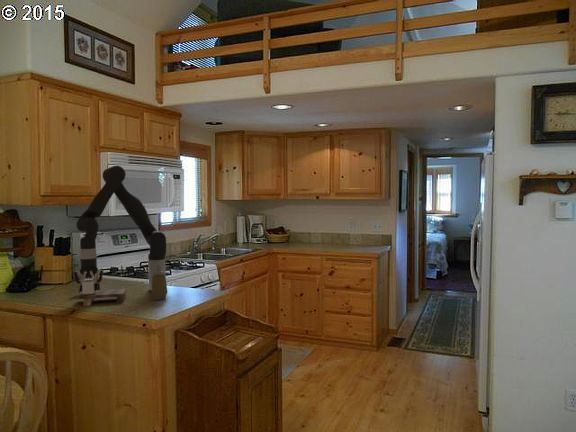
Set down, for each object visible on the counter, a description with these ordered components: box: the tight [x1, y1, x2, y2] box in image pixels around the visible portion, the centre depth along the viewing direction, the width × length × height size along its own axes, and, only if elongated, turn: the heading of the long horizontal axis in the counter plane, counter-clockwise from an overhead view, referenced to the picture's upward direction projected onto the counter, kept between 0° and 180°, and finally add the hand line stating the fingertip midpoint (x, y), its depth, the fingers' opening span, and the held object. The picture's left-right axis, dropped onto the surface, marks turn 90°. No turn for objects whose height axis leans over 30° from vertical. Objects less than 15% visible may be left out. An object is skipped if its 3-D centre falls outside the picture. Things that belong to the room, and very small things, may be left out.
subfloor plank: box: [75, 288, 127, 307], centre depth 221 cm, size 22×16×5 cm
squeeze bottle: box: [150, 264, 168, 301], centre depth 224 cm, size 8×8×18 cm
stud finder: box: [82, 279, 95, 294], centre depth 219 cm, size 5×9×6 cm, turn 15°
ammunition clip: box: [78, 272, 101, 294], centre depth 239 cm, size 11×2×12 cm, turn 129°
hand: (89, 290), depth 219 cm, fingers closed on stud finder, 5 cm apart
